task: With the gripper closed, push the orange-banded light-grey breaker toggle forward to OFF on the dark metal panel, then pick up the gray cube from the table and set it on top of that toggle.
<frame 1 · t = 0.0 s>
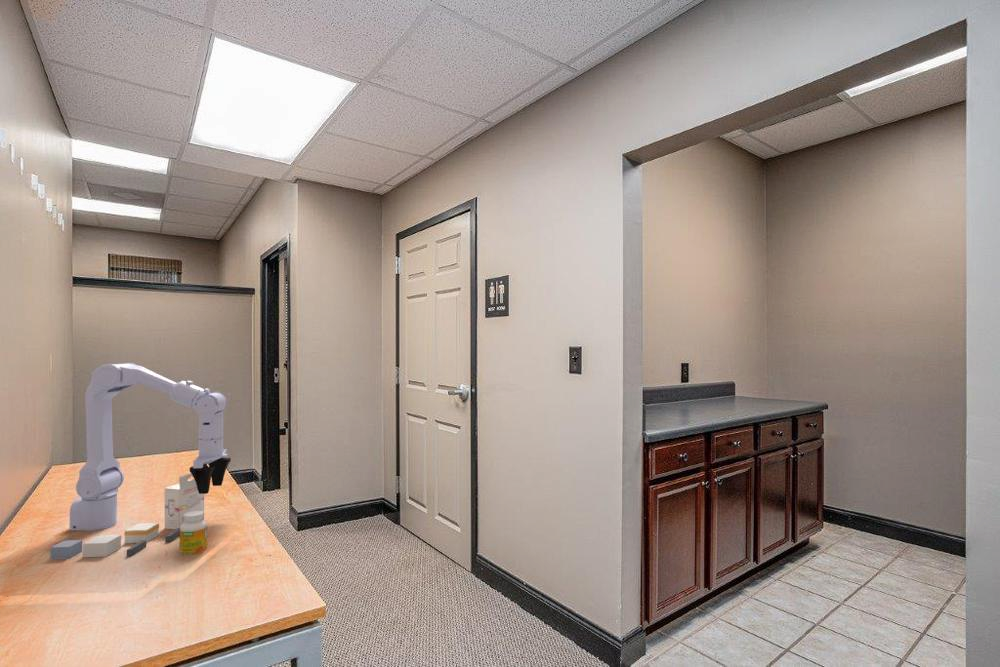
hand: (210, 489, 139), 10 cm above the table, tool pointing down, fingers open, 7 cm apart
supplement bottle: (193, 556, 121), on the table
panel: (134, 549, 124), on the table
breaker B: (102, 545, 119), point 3 cm above the table, slide at 0.0 cm, touching panel
gray cube: (66, 561, 118), on the table
breaker A: (142, 532, 127), point 3 cm above the table, slide at 0.0 cm
ink cartridge box: (184, 529, 139), on the table
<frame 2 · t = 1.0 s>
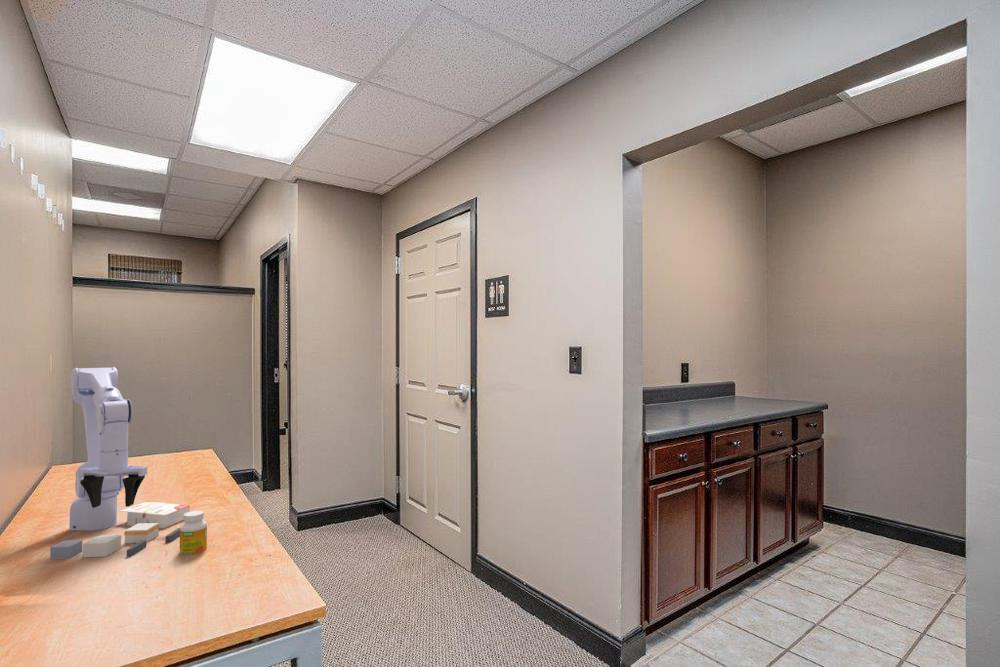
hand: (113, 505, 127), 9 cm above the table, tool pointing down, fingers open, 7 cm apart
ink cartridge box: (178, 519, 139), point 2 cm above the table
everything else where it was.
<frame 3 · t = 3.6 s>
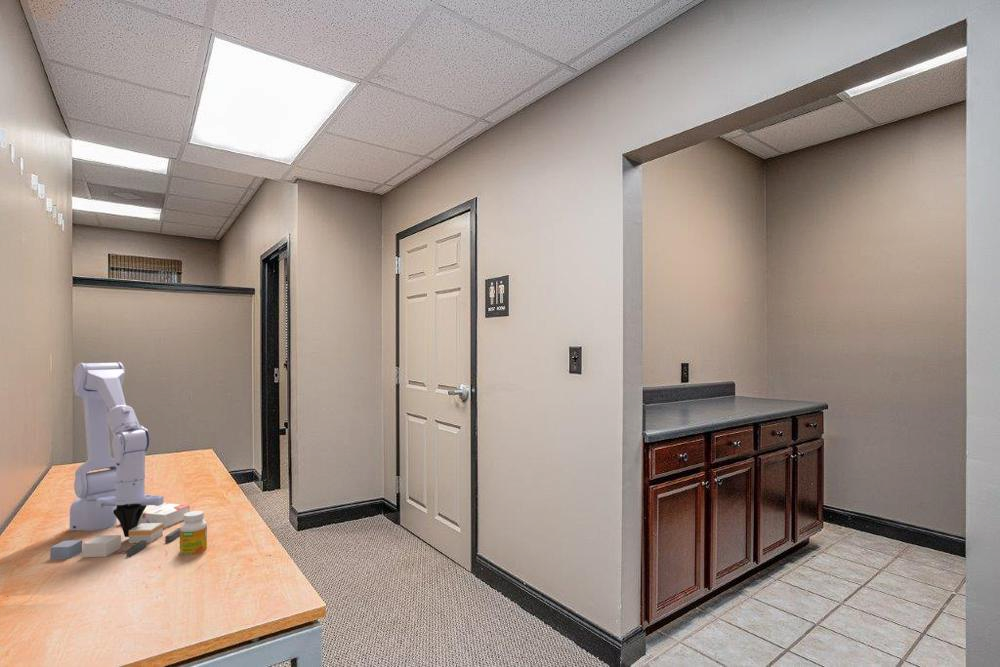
hand: (129, 535, 127), 2 cm above the table, tool pointing down, fingers closed
breaker A: (146, 532, 128), point 3 cm above the table, slide at 0.9 cm, touching gripper
everything else where it was.
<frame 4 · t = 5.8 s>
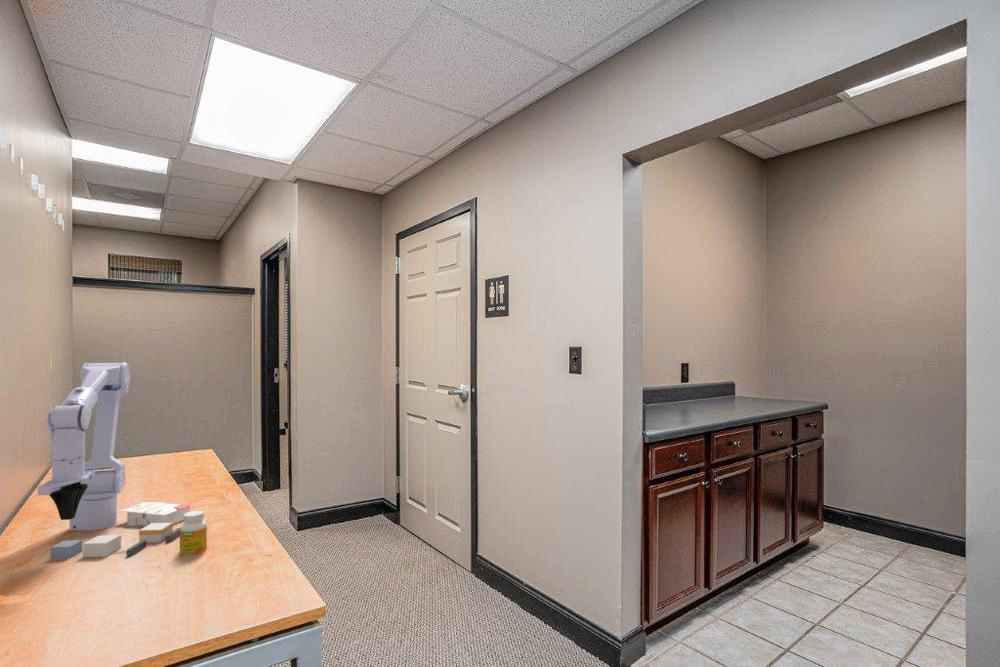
hand: (67, 518, 118), 9 cm above the table, tool pointing down, fingers closed
breaker A: (156, 532, 128), point 3 cm above the table, slide at 3.3 cm
everything else where it was.
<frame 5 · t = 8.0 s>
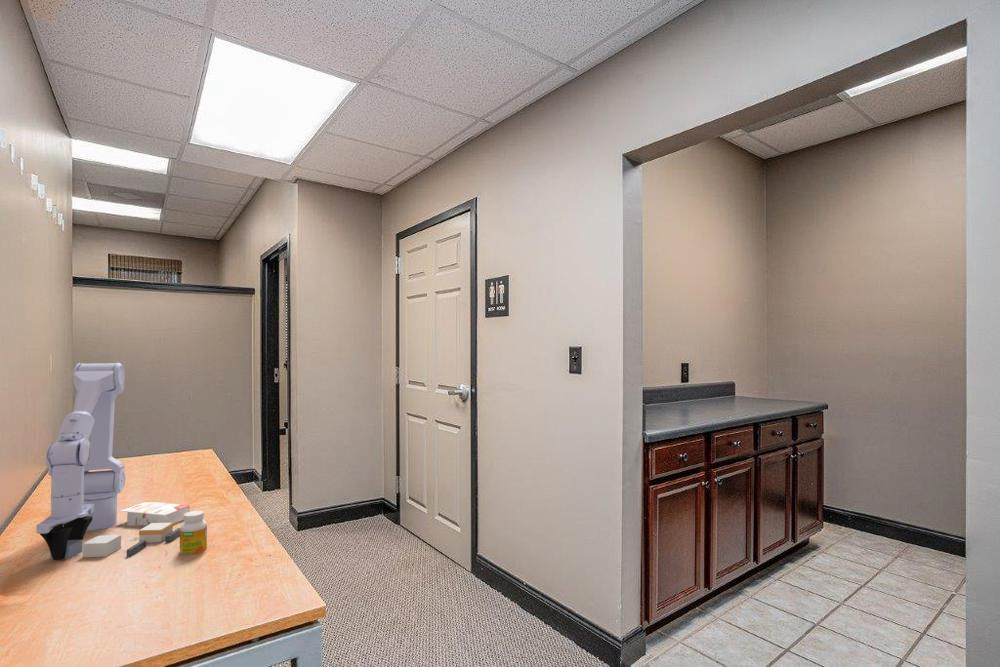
hand: (66, 554, 118), 1 cm above the table, tool pointing down, fingers closed on gray cube, 4 cm apart
gray cube: (66, 561, 118), on the table, touching gripper
everything else where it was.
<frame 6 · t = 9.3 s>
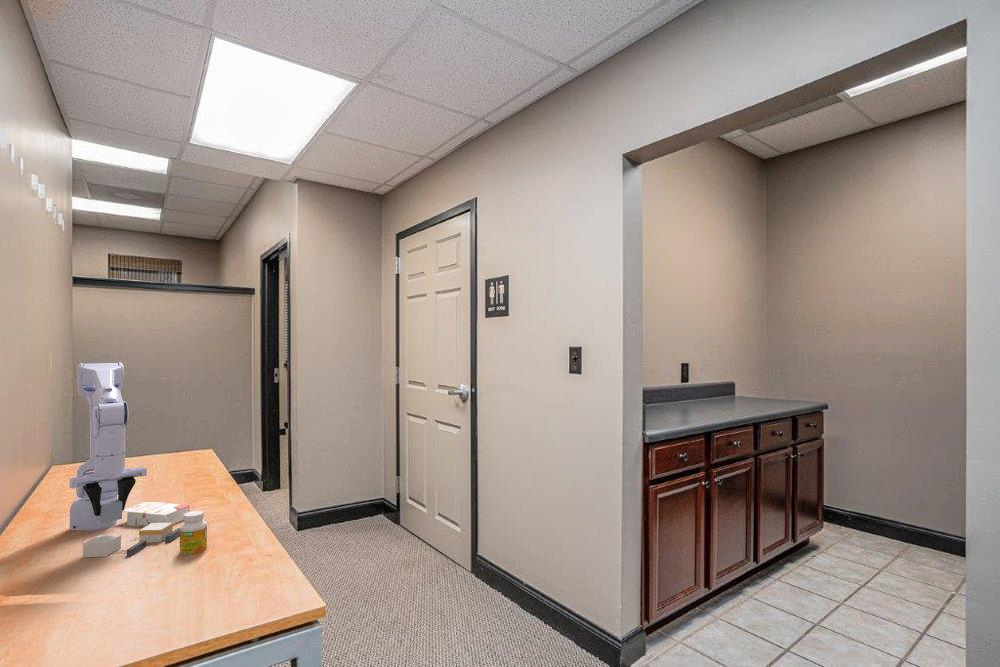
hand: (109, 512, 122), 9 cm above the table, tool pointing down, fingers closed on gray cube, 4 cm apart
gray cube: (108, 519, 122), point 8 cm above the table, touching gripper
everything else where it was.
when the fingers open (7 cm above the table, at t = 10.6 s): gray cube stays where it is, resting on breaker A.
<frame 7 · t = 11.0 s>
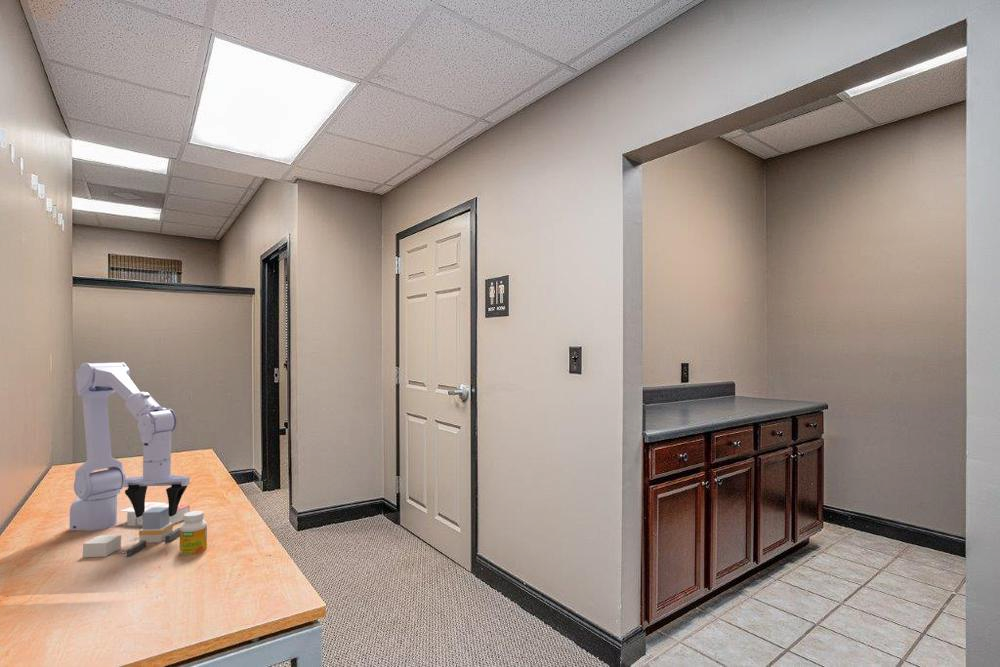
hand: (156, 515, 128), 7 cm above the table, tool pointing down, fingers open, 7 cm apart
gray cube: (156, 526, 128), point 4 cm above the table, touching breaker A
breaker A: (156, 532, 128), point 3 cm above the table, slide at 3.3 cm, touching gray cube
everything else where it was.
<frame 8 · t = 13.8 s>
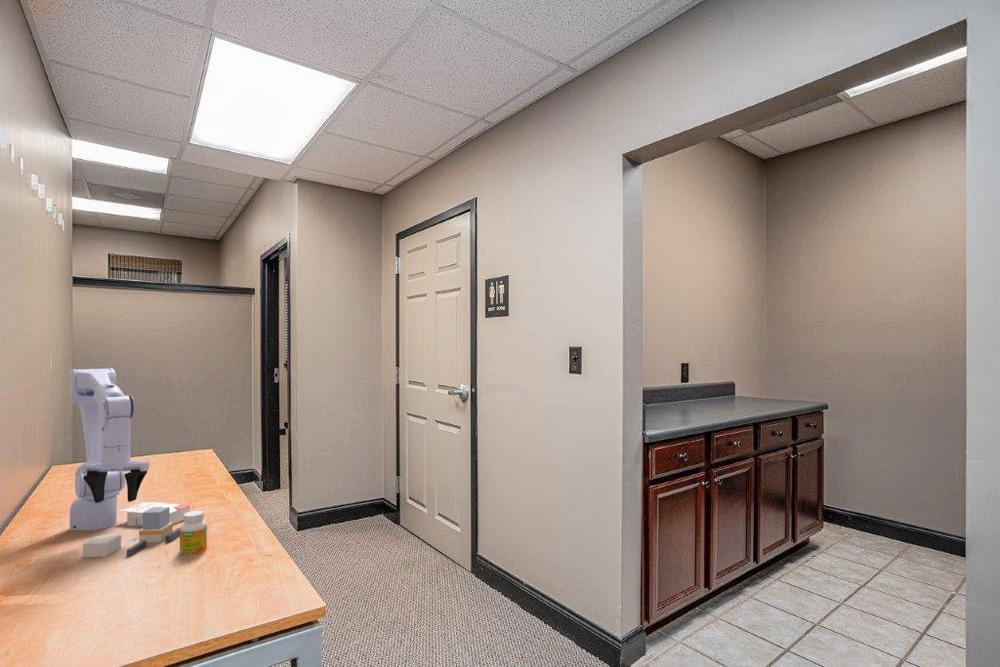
hand: (115, 501, 128), 10 cm above the table, tool pointing down, fingers open, 7 cm apart
nothing on the table moved.
at the end: breaker A slide at 3.3 cm; gray cube inside the target area (0.1 cm from its centre), point 4.3 cm above the table; gray cube tilted 0° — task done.
